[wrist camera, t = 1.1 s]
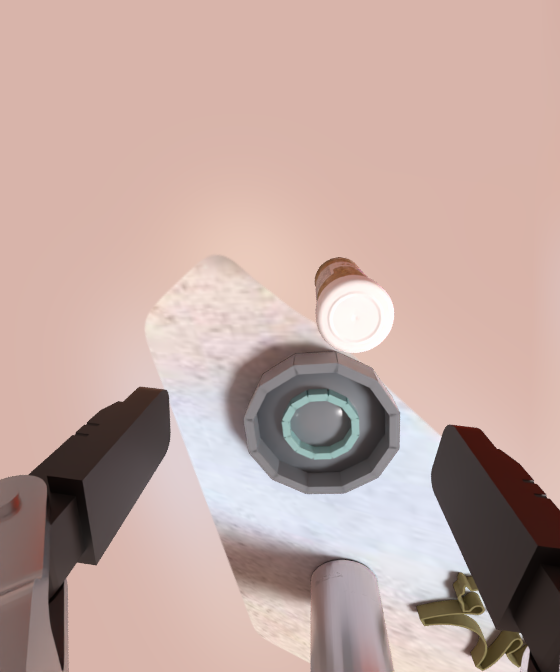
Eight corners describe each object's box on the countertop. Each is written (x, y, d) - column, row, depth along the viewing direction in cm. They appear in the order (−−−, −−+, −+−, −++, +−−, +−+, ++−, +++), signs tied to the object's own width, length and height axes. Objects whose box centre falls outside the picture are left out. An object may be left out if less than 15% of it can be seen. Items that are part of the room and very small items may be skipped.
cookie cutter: (404, 597, 45) (408, 613, 44) (478, 558, 42) (486, 574, 40) (482, 661, 48) (488, 679, 47) (557, 630, 45) (568, 648, 43)
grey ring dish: (419, 436, 36) (428, 454, 33) (302, 493, 40) (301, 513, 37) (342, 323, 33) (345, 333, 30) (222, 399, 37) (215, 413, 34)
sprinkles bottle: (370, 272, 31) (413, 306, 18) (343, 311, 32) (365, 368, 20) (330, 247, 30) (344, 263, 18) (304, 288, 32) (301, 330, 19)
